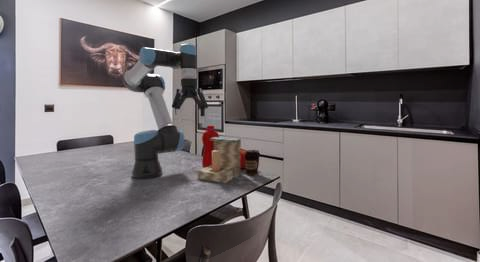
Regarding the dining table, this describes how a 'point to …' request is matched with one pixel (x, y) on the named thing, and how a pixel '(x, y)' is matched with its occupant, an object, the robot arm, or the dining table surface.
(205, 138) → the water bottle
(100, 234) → the dining table surface
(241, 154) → the tomato
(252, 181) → the dining table surface
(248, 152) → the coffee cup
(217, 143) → the socket awning
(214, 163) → the peg
